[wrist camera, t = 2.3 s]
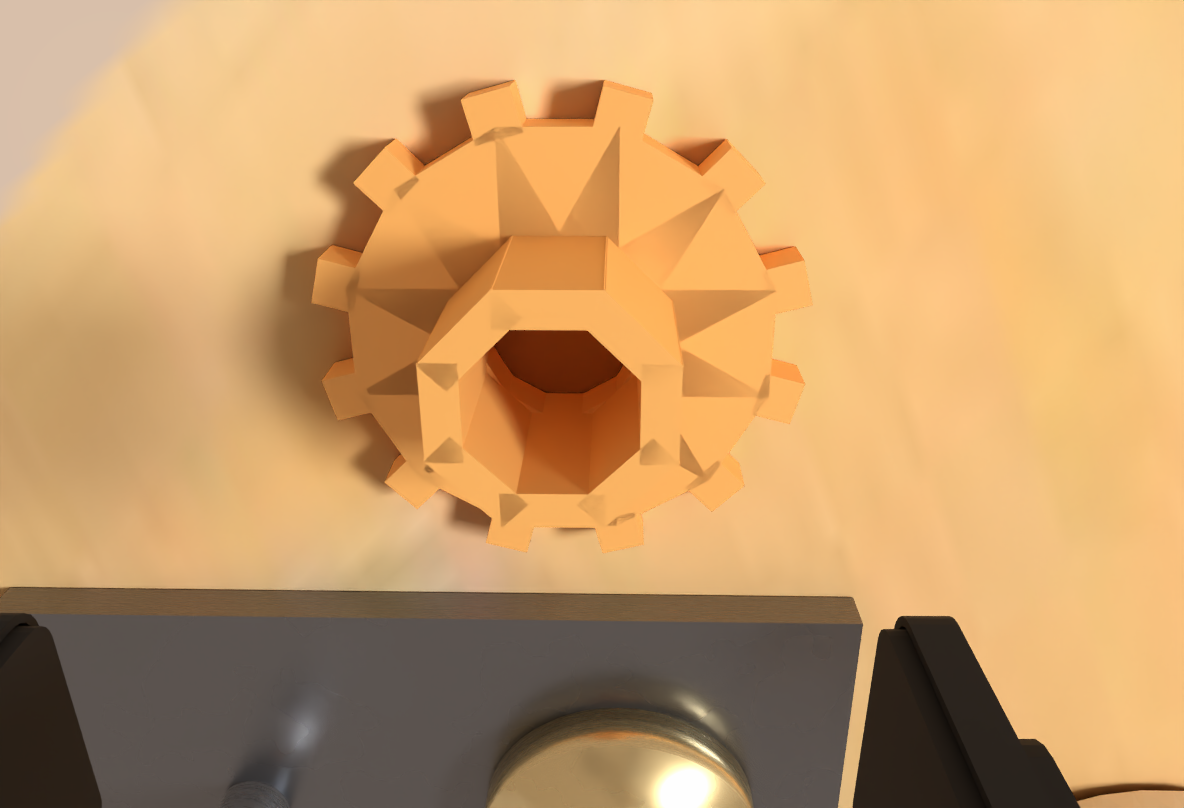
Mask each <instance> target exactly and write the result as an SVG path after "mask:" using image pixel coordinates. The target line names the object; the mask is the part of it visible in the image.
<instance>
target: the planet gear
mask: <svg viewBox="0 0 1184 808" xmlns="http://www.w3.org/2000/svg"><path fill="white" fill-rule="evenodd" d="M461 103H462V106H463V109H464V112H465V116H466V119H467V122H468V125H469V128H470V132H471V135H472V137H471V138H469V139H468V140H466V141H464V142H463V143H461V144H460V145H458V146H456V147H455V148H453V149H451V150H450V151H448V152H446V153H445V154H443V155H442V156H440V157H438V158H437V159H435V160H433V161H432V162H430V163H429V164H427V165H423V164H422V163H421V162H420V161H419V160H418V159H417V158H416V157H415V156H414V155H413V154H412V153H411V152H410V151H409V150H408V149H407V148H406V147H404V146H403V145H402V144H401V143H400V142H399V141H398V140H397V139H395V140H394V141H392V142H391V143H390V144H388V145H387V146H386V147H385V148H384V149H383V150H382V151H381V152H380V153H379V154H378V156H377V157H376V158H375V159H374V160H373V161H372V162H371V163H370V165H369V166H368V167H367V168H366V169H365V170H364V171H363V172H362V174H361V175H360V176H359V177H358V178H357V179H356V180H355V182H354V183H353V184H354V185H356V186H357V187H358V188H359V189H360V190H361V191H362V192H363V193H364V194H365V195H366V196H368V197H369V198H370V199H371V200H372V201H373V202H374V203H375V204H376V205H377V206H378V207H380V208H381V209H382V210H383V212H382V214H381V216H380V218H379V220H378V223H377V225H376V227H375V229H374V231H373V233H372V235H371V237H370V239H369V241H368V243H367V245H366V247H365V249H364V251H363V253H361V252H357V251H353V250H349V249H346V248H342V247H338V246H334V245H331V246H330V247H329V248H328V249H327V250H326V251H325V252H324V253H323V254H322V255H321V256H320V257H319V258H318V261H317V267H316V274H315V281H314V287H313V294H312V301H311V303H314V304H318V305H322V306H326V307H330V308H334V309H338V310H342V311H346V312H348V317H349V326H350V335H351V344H352V352H353V358H351V359H347V360H343V361H339V362H335V363H334V364H333V366H332V367H331V368H330V370H329V371H328V372H327V374H326V375H325V377H324V378H323V379H322V381H321V382H322V384H323V386H324V389H325V391H326V394H327V396H328V398H329V401H330V403H331V406H332V408H333V410H334V413H335V415H336V417H337V420H338V421H339V420H343V419H347V418H351V417H355V416H360V415H364V414H368V413H371V414H372V415H373V416H374V418H375V419H376V420H377V422H378V423H379V424H380V426H381V427H382V429H383V430H384V431H385V433H386V434H387V435H388V437H389V438H390V439H391V441H392V442H393V443H394V445H395V446H396V448H397V449H398V450H399V452H400V453H401V454H400V455H399V456H398V457H397V458H396V459H395V460H394V462H393V464H392V467H391V469H390V471H389V473H388V475H387V478H386V480H385V483H386V484H387V485H388V486H389V487H391V488H392V489H393V490H394V491H396V492H397V493H398V494H399V495H400V496H402V497H403V498H404V499H405V500H407V501H408V502H409V503H410V504H412V505H413V506H414V507H415V508H416V509H418V508H419V507H420V506H421V505H422V504H423V503H424V502H425V501H426V500H428V499H429V498H430V497H431V496H432V495H433V494H434V493H435V492H436V491H437V490H438V489H439V488H440V489H442V490H444V491H446V492H448V493H450V494H452V495H454V496H456V497H458V498H460V499H462V500H464V501H466V502H468V503H470V504H472V505H474V506H476V507H478V508H480V509H481V510H482V511H483V512H485V513H486V514H487V515H488V516H489V517H491V523H490V527H489V531H488V536H487V540H486V543H489V544H493V545H497V546H501V547H506V548H510V549H514V550H518V551H523V552H527V550H528V546H529V543H530V539H531V536H532V532H533V529H534V527H565V528H595V530H596V533H597V536H598V540H599V543H600V546H601V549H602V552H603V553H607V552H611V551H616V550H620V549H625V548H630V547H634V546H639V545H644V541H643V520H642V517H641V514H642V513H644V512H646V511H648V510H650V509H652V508H654V507H656V506H658V505H660V504H662V503H664V502H666V501H668V500H671V499H673V498H675V497H677V496H679V495H681V494H683V493H685V492H687V491H690V492H691V493H692V494H693V495H694V496H695V497H696V498H697V499H698V500H699V501H700V502H702V503H703V504H704V505H705V506H706V507H707V508H708V509H709V510H710V511H711V512H713V511H714V510H715V509H716V508H717V507H719V506H720V505H721V504H722V503H724V502H725V501H726V500H727V499H728V498H730V497H731V496H732V495H733V494H735V493H736V492H737V491H738V490H740V489H741V488H742V487H743V486H744V482H743V478H742V474H741V470H740V466H739V463H738V462H737V461H736V460H735V459H734V458H733V457H732V456H731V455H730V454H729V452H730V451H731V449H732V448H733V446H734V445H735V444H736V442H737V441H738V439H739V438H740V437H741V435H742V434H743V432H744V431H745V430H746V428H747V427H748V425H749V424H750V423H751V421H752V420H753V418H754V417H755V416H759V417H763V418H767V419H771V420H775V421H779V422H783V423H787V424H790V422H791V419H792V417H793V414H794V411H795V409H796V406H797V404H798V401H799V399H800V396H801V393H802V391H803V388H804V386H805V383H804V381H803V378H802V376H801V374H800V372H799V370H798V367H797V365H793V364H789V363H785V362H781V361H778V360H774V359H772V351H773V338H774V325H775V314H778V313H782V312H786V311H790V310H794V309H798V308H803V307H807V306H811V305H813V304H812V299H811V294H810V288H809V283H808V278H807V272H806V267H805V261H804V259H803V258H802V256H801V254H800V253H799V251H798V250H797V248H796V247H791V248H787V249H783V250H779V251H775V252H771V253H767V254H763V255H759V254H758V252H757V250H756V248H755V246H754V244H753V243H752V241H751V239H750V237H749V235H748V233H747V231H746V229H745V227H744V225H743V223H742V222H741V220H740V218H739V216H738V214H737V212H736V211H737V210H738V209H739V208H740V207H741V206H742V205H743V204H745V203H746V202H747V201H748V200H749V199H750V198H751V197H752V196H753V195H754V194H755V193H756V192H757V191H758V190H760V189H761V188H762V187H763V186H764V185H765V182H764V181H763V179H762V178H761V176H760V175H759V174H758V172H757V171H756V170H755V169H754V168H753V167H752V166H751V165H750V164H749V163H748V162H747V160H746V159H745V158H744V157H743V156H742V155H741V154H740V153H739V152H738V151H737V150H736V149H735V148H734V146H733V145H732V144H731V143H730V142H729V141H728V140H727V139H726V140H725V141H724V142H723V143H721V144H720V145H719V146H718V147H717V148H716V149H715V150H714V151H713V152H712V153H711V154H710V155H709V156H708V157H707V158H706V159H705V160H704V161H703V162H702V163H701V164H700V165H699V166H697V165H696V164H694V163H692V162H691V161H689V160H687V159H686V158H684V157H682V156H680V155H679V154H677V153H675V152H674V151H672V150H670V149H669V148H667V147H665V146H664V145H662V144H660V143H659V142H657V141H655V140H654V139H652V138H650V137H649V136H647V135H645V134H644V132H645V128H646V125H647V121H648V117H649V114H650V110H651V107H652V103H653V96H652V93H649V92H646V91H642V90H639V89H635V88H631V87H628V86H624V85H621V84H617V83H614V82H610V81H606V80H604V83H603V87H602V91H601V94H600V98H599V102H598V106H597V110H596V114H595V118H594V119H526V116H525V112H524V109H523V105H522V102H521V99H520V95H519V92H518V88H517V85H516V81H515V80H513V81H510V82H506V83H503V84H499V85H496V86H492V87H489V88H485V89H482V90H478V91H475V92H471V93H468V94H467V95H466V96H465V97H463V98H462V99H461ZM509 330H587V331H588V332H590V333H591V334H592V335H593V336H594V337H595V338H596V339H597V340H598V341H599V342H600V343H601V344H602V345H603V346H604V347H605V348H606V349H608V350H609V351H610V352H611V353H612V354H613V355H614V356H615V357H616V358H617V359H618V360H619V361H620V362H621V363H622V364H623V366H622V368H621V370H620V371H619V373H618V374H617V376H616V377H614V378H612V379H610V380H608V381H606V382H604V383H602V384H600V385H598V386H597V387H595V388H593V389H591V390H589V391H587V392H585V393H545V392H543V391H541V390H539V389H537V388H535V387H534V386H532V385H530V384H528V383H526V382H524V381H522V380H520V379H518V378H517V377H515V376H513V375H512V374H511V372H510V371H509V369H508V368H507V366H506V365H505V363H504V362H503V360H502V359H501V357H500V355H499V354H498V352H497V351H496V349H495V348H494V345H495V344H496V343H497V342H498V341H499V340H500V339H501V338H502V337H503V336H504V335H505V334H506V333H507V332H508V331H509Z"/></svg>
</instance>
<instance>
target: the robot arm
mask: <svg viewBox="0 0 1184 808" xmlns="http://www.w3.org/2000/svg"><path fill="white" fill-rule="evenodd" d="M0 808H102V800H101V795H100V792H99V788H98V785H97V782H96V778H95V775H94V772H93V769H92V765H91V762H90V759H89V755H88V752H87V749H86V745H85V742H84V739H83V735H82V732H81V729H80V726H79V722H78V719H77V716H76V712H75V709H74V706H73V702H72V699H71V696H70V692H69V689H68V686H67V683H66V679H65V676H64V673H63V669H62V666H61V663H60V659H59V656H58V653H57V649H56V646H55V643H54V639H53V636H52V634H51V632H50V630H48V629H47V628H46V627H43V626H39V625H38V623H37V620H36V619H35V618H34V617H33V616H32V615H31V614H27V613H0ZM853 808H1184V791H1157V790H1138V791H1130V792H1121V793H1113V794H1105V795H1098V796H1095V797H1091V798H1087V799H1083V800H1079V801H1076V799H1075V797H1074V795H1073V793H1072V792H1071V790H1070V788H1069V786H1068V784H1067V783H1066V781H1065V779H1064V777H1063V775H1062V774H1061V772H1060V770H1059V768H1058V766H1057V765H1056V763H1055V761H1054V759H1053V757H1052V756H1051V755H1050V753H1049V752H1048V750H1047V749H1046V747H1045V746H1044V745H1043V744H1041V743H1040V742H1039V741H1037V740H1036V739H1018V737H1017V735H1016V733H1015V732H1014V730H1013V728H1012V726H1011V724H1010V722H1009V720H1008V718H1007V716H1006V714H1005V713H1004V711H1003V709H1002V707H1001V705H1000V703H999V701H998V699H997V697H996V695H995V693H994V692H993V690H992V688H991V686H990V684H989V682H988V680H987V678H986V676H985V674H984V673H983V671H982V669H981V667H980V665H979V663H978V661H977V659H976V657H975V655H974V653H973V652H972V650H971V648H970V646H969V644H968V642H967V640H966V638H965V636H964V634H963V633H962V631H961V629H960V627H959V625H958V623H957V622H956V621H955V619H954V618H952V617H950V616H901V617H899V618H898V620H897V621H896V624H895V628H894V629H883V630H881V632H880V634H879V637H878V642H877V649H876V656H875V662H874V669H873V675H872V682H871V688H870V695H869V701H868V708H867V714H866V721H865V727H864V734H863V740H862V747H861V753H860V760H859V766H858V773H857V780H856V786H855V793H854V799H853Z"/></svg>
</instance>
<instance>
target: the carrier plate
mask: <svg viewBox="0 0 1184 808" xmlns="http://www.w3.org/2000/svg"><path fill="white" fill-rule="evenodd" d="M0 613H27V614H31V615H32V616H33V617H34V618H35V619H36V620H37V623H38V625H39V626H43V627H46V628H47V629H48V630H50V632H51V634H52V636H53V639H54V643H55V646H56V649H57V653H58V656H59V659H60V663H61V666H62V669H63V673H64V676H65V679H66V683H67V686H68V689H69V692H70V696H71V699H72V702H73V706H74V709H75V712H76V716H77V719H78V722H79V726H80V729H81V732H82V735H83V739H84V742H85V745H86V749H87V752H88V755H89V759H90V762H91V765H92V769H93V772H94V775H95V778H96V782H97V785H98V788H99V792H100V795H101V800H102V808H838V801H839V794H840V787H841V780H842V772H843V765H844V758H845V750H846V743H847V736H848V729H849V721H850V714H851V707H852V700H853V692H854V685H855V678H856V670H857V663H858V656H859V649H860V641H861V634H862V627H863V623H862V620H861V618H860V615H859V612H858V610H857V607H856V604H855V602H854V599H853V598H850V597H765V596H679V595H594V594H508V593H422V592H337V591H251V590H166V589H80V588H9V589H8V590H7V591H6V592H5V593H4V594H3V595H2V596H1V597H0Z"/></svg>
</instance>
